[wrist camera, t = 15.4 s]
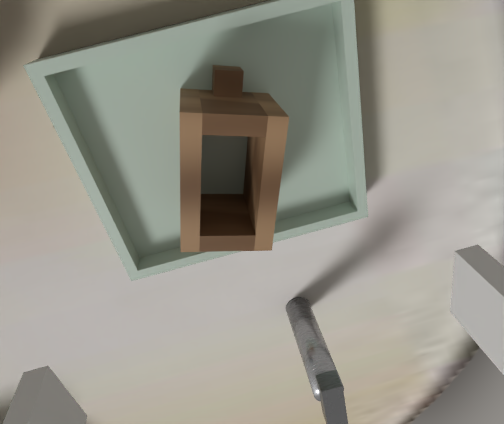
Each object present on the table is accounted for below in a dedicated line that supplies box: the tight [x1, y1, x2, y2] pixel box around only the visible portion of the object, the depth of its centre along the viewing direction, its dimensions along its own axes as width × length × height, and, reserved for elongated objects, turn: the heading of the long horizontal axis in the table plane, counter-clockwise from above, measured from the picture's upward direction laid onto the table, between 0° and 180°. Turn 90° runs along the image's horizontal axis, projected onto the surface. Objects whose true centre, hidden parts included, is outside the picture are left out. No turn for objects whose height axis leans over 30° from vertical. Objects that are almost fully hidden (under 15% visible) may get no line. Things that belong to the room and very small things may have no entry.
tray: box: [23, 0, 368, 281], centre depth 27 cm, size 17×20×2 cm
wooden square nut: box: [180, 65, 289, 252], centre depth 25 cm, size 11×6×6 cm, turn 175°
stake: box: [286, 298, 348, 424], centre depth 33 cm, size 5×2×11 cm, turn 12°
